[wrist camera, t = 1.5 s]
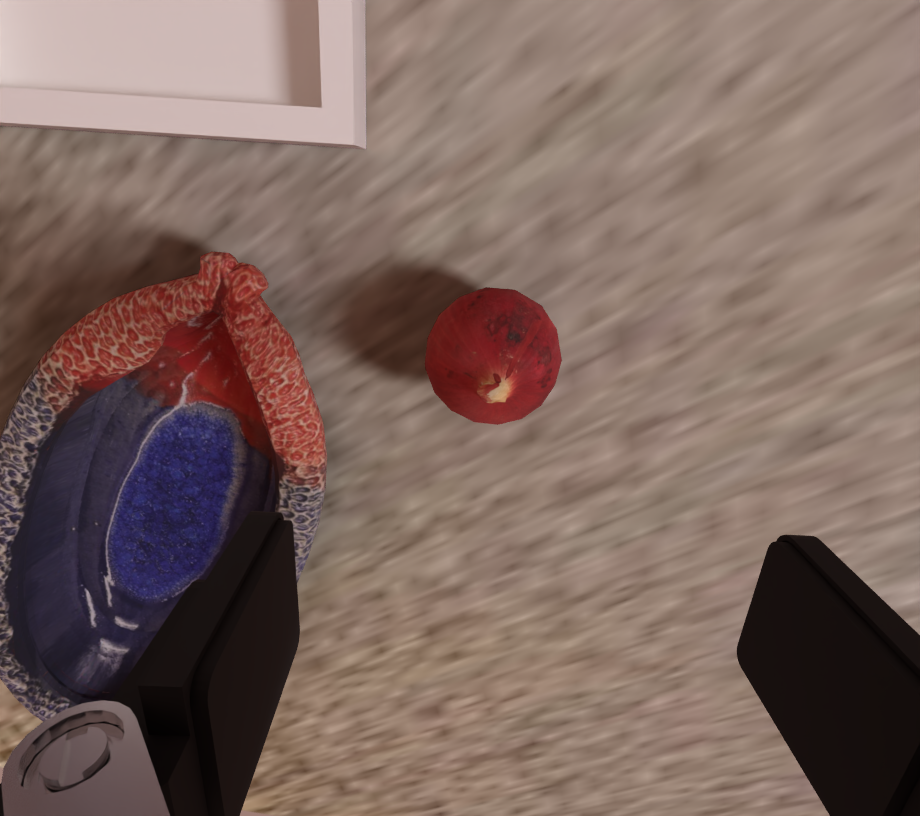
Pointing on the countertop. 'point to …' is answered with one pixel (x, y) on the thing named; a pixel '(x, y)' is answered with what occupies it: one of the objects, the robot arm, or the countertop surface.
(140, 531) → the dish
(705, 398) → the countertop surface
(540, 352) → the onion
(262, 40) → the tray
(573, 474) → the countertop surface
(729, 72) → the countertop surface
